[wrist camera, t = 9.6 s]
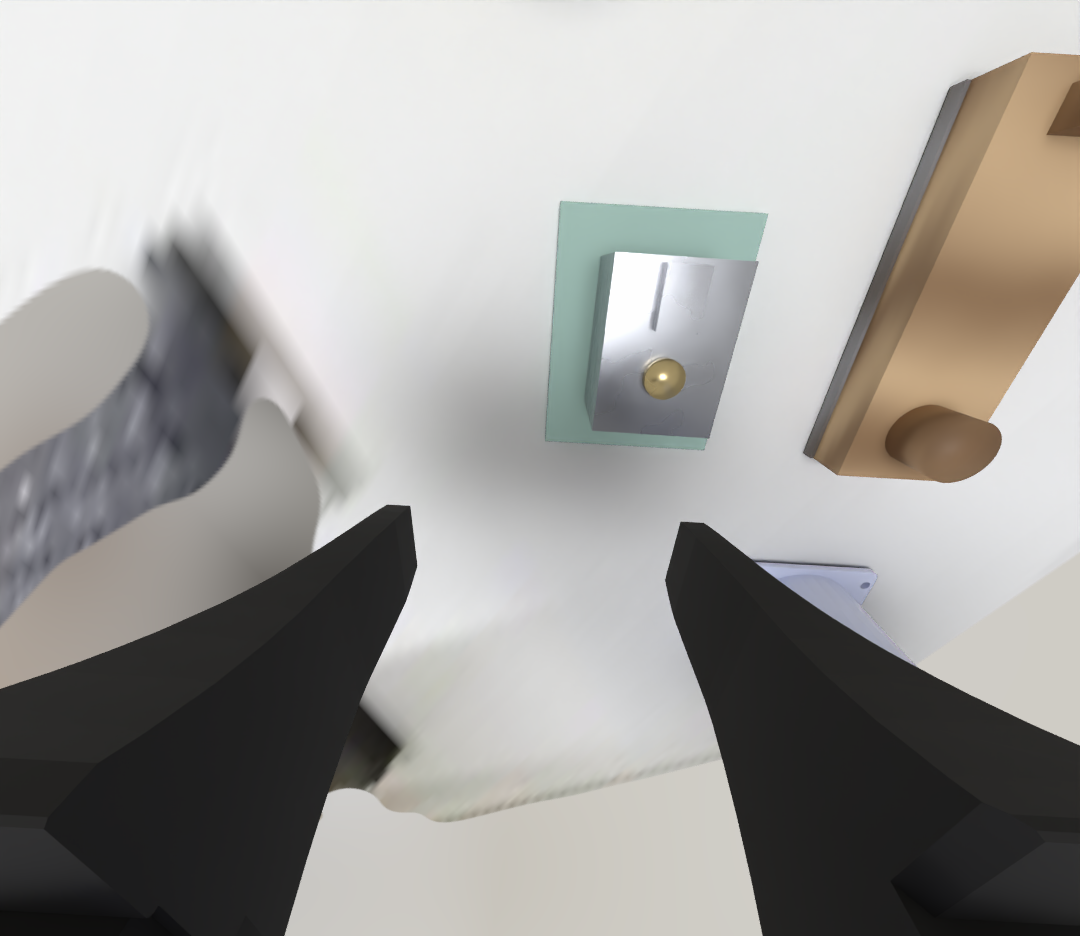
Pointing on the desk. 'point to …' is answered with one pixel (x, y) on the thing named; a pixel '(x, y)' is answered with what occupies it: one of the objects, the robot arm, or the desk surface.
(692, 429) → the lever cap
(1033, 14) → the desk surface
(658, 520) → the desk surface
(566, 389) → the mat
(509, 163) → the desk surface
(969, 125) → the plane body
